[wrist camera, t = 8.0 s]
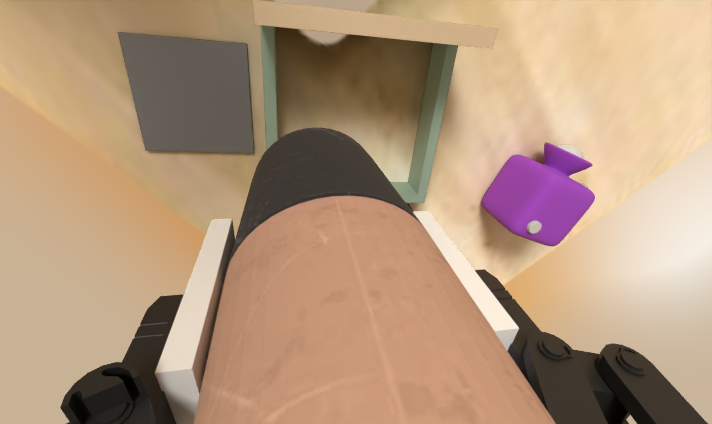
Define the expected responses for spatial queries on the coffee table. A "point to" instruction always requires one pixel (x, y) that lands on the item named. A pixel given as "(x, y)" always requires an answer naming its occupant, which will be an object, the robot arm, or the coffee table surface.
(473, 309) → the travel mug
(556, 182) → the toy camera
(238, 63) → the rubber mat
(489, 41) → the frame
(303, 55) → the coffee table surface
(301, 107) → the coffee table surface
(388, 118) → the coffee table surface
